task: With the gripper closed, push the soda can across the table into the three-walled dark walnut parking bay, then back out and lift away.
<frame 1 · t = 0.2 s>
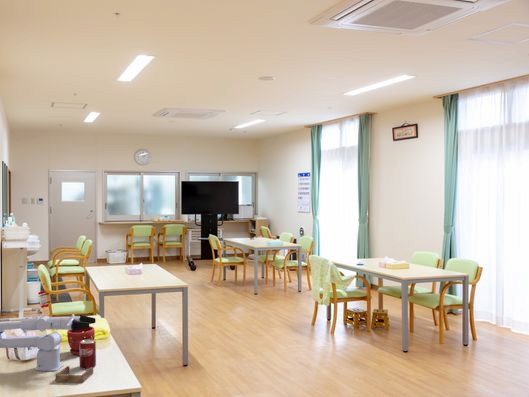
hand: (92, 322, 253), 21 cm above the table, tool horizontal, fingers open, 7 cm apart
parking bay: (75, 377, 242), on the table
plant pot: (81, 352, 278), on the table
soda can: (87, 367, 256), on the table
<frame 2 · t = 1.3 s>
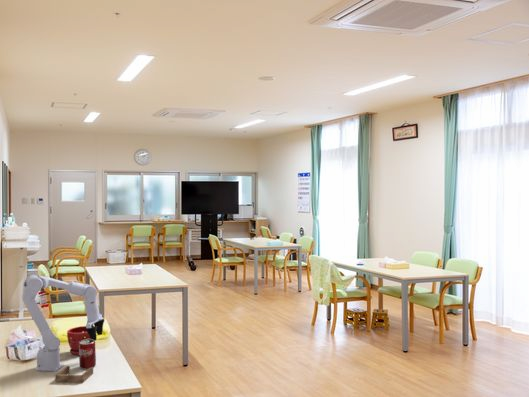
hand: (97, 337, 265), 11 cm above the table, tool pointing down, fingers open, 7 cm apart
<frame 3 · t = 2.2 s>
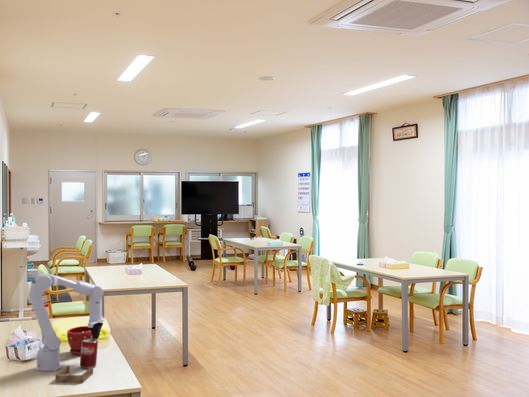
hand: (95, 338, 266), 10 cm above the table, tool pointing down, fingers closed
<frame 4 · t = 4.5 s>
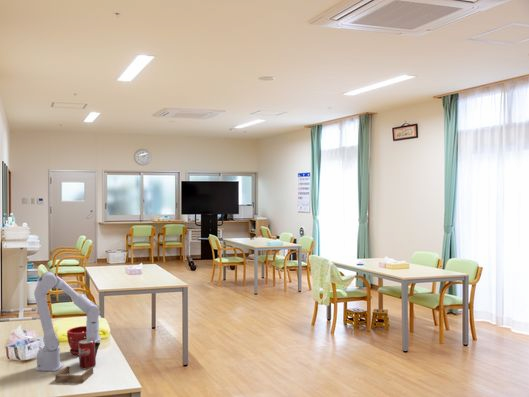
hand: (92, 358, 262), 2 cm above the table, tool pointing down, fingers closed
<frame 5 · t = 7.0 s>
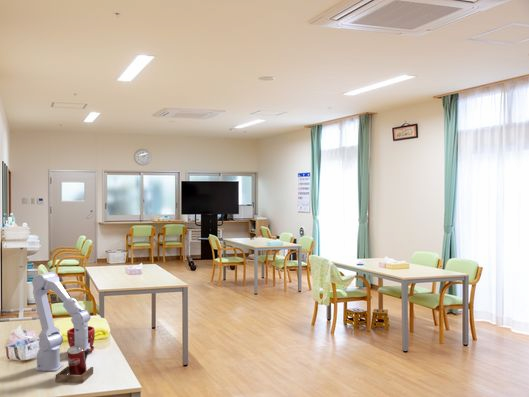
hand: (81, 367, 249), 2 cm above the table, tool pointing down, fingers closed, pressing on soda can
soda can: (78, 373, 245), point 1 cm above the table, touching gripper
everything else where it was.
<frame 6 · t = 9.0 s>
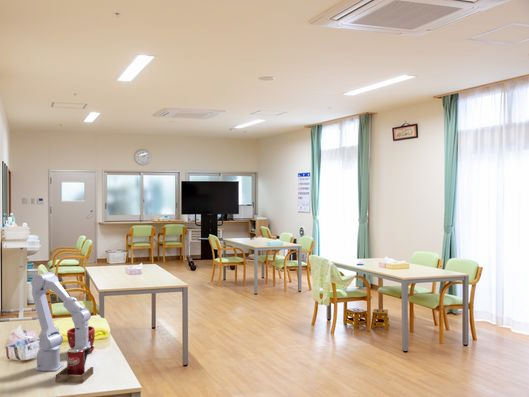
hand: (81, 366, 249), 2 cm above the table, tool pointing down, fingers closed
soda can: (76, 377, 243), on the table
everything else where it was.
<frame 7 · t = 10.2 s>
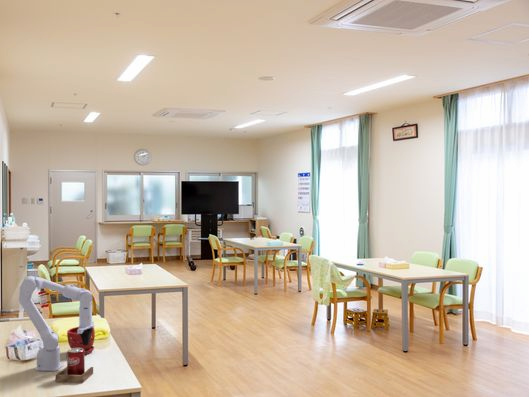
hand: (86, 344, 259), 9 cm above the table, tool pointing down, fingers closed
nothing on the table moved.
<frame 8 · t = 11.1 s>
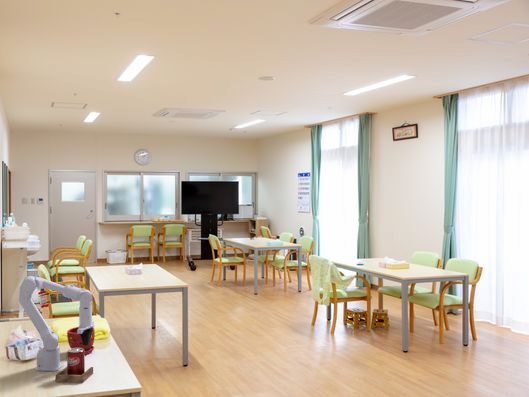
hand: (86, 344, 259), 9 cm above the table, tool pointing down, fingers closed
nothing on the table moved.
at the end: soda can 1.5 cm from the target spot, on the table; soda can tilted 0° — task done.
